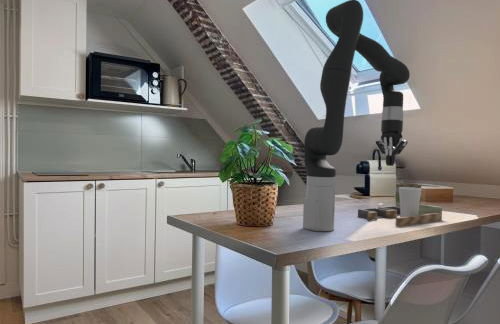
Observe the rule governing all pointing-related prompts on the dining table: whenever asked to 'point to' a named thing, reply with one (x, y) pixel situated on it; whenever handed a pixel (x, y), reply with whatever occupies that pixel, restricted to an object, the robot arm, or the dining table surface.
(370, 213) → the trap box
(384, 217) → the mats
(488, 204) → the dining table surface
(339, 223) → the dining table surface
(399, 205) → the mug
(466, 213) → the dining table surface
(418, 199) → the cup
